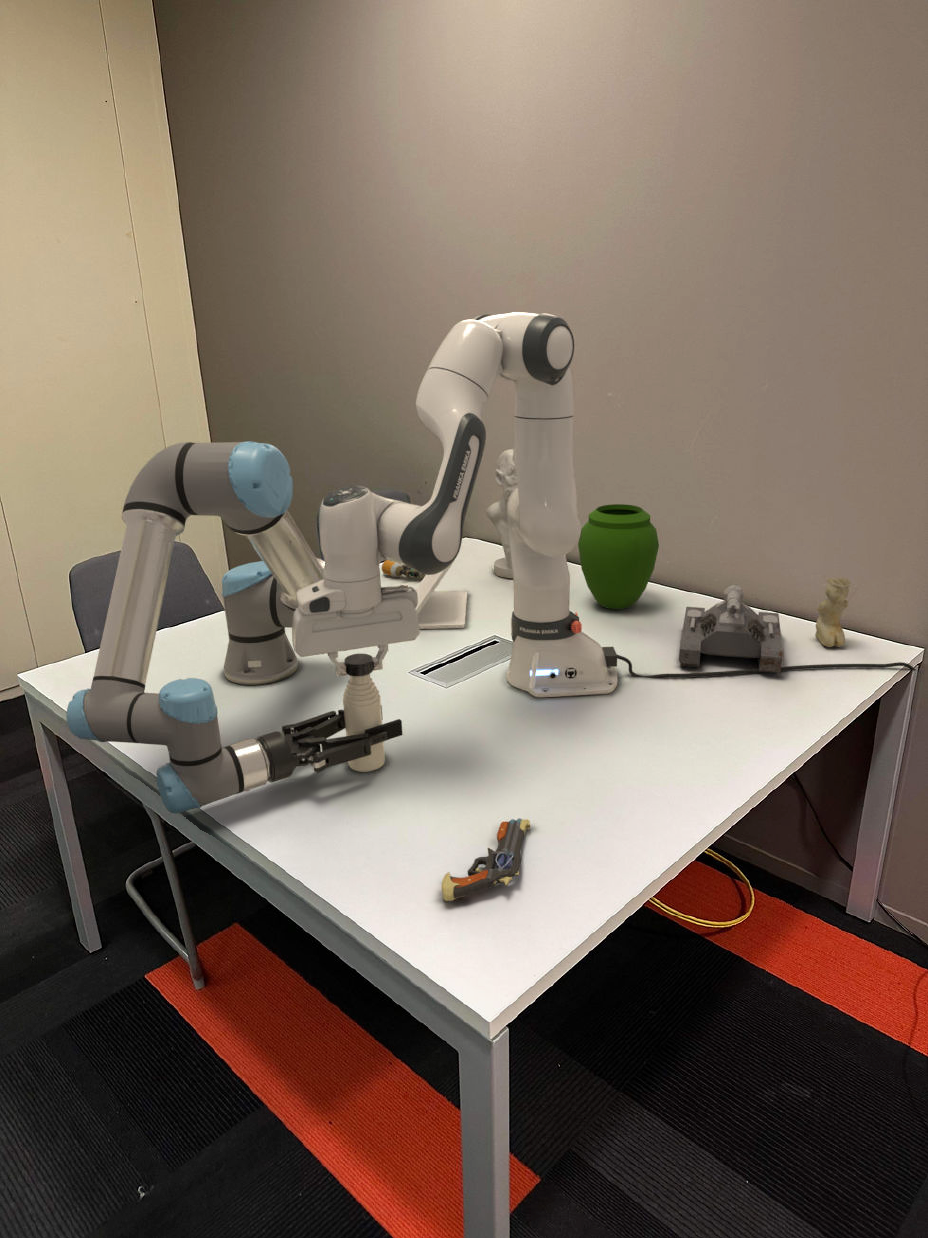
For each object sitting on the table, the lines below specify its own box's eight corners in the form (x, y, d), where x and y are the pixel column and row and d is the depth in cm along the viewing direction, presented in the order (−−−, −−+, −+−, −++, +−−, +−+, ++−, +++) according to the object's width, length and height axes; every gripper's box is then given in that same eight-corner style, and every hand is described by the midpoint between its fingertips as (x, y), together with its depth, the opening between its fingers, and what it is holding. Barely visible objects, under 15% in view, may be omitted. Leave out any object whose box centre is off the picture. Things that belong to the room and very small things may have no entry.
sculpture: (821, 649, 184) (830, 583, 179) (808, 637, 191) (816, 573, 185) (848, 649, 184) (858, 582, 179) (834, 636, 191) (843, 572, 185)
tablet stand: (467, 593, 225) (465, 531, 219) (465, 628, 202) (462, 559, 196) (399, 594, 226) (395, 532, 220) (388, 629, 203) (384, 560, 197)
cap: (373, 663, 141) (372, 652, 141) (374, 675, 137) (373, 663, 136) (345, 666, 141) (344, 654, 140) (345, 677, 136) (344, 665, 136)
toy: (684, 626, 199) (689, 565, 194) (775, 633, 193) (782, 570, 188) (677, 670, 176) (682, 601, 171) (780, 679, 171) (788, 608, 165)
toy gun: (436, 889, 109) (513, 888, 107) (464, 814, 127) (530, 813, 125) (439, 907, 110) (516, 907, 108) (466, 831, 128) (532, 829, 126)
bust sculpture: (503, 593, 225) (502, 460, 212) (483, 567, 247) (480, 445, 234) (562, 587, 228) (563, 456, 215) (536, 562, 250) (536, 441, 237)
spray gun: (401, 563, 255) (446, 570, 249) (372, 576, 240) (419, 584, 235) (401, 549, 254) (446, 556, 248) (372, 561, 239) (419, 569, 233)
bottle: (390, 766, 144) (383, 667, 137) (355, 775, 141) (346, 675, 135) (377, 750, 149) (370, 654, 142) (343, 758, 146) (335, 661, 140)
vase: (599, 587, 227) (601, 497, 218) (668, 600, 216) (673, 505, 208) (562, 608, 212) (564, 513, 204) (634, 623, 202) (639, 523, 193)
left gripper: (242, 756, 142) (366, 718, 154) (288, 809, 127) (421, 761, 139) (237, 716, 140) (363, 680, 151) (283, 765, 125) (418, 720, 136)
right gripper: (411, 577, 140) (415, 655, 145) (286, 593, 134) (294, 673, 139) (422, 588, 134) (426, 669, 139) (291, 606, 128) (300, 689, 133)
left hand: (390, 719), depth 145 cm, fingers closed on bottle, 6 cm apart
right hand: (359, 671), depth 139 cm, fingers closed on cap, 5 cm apart
